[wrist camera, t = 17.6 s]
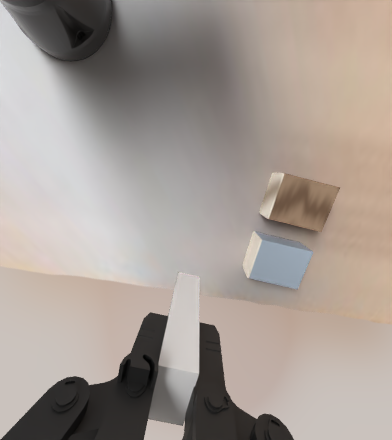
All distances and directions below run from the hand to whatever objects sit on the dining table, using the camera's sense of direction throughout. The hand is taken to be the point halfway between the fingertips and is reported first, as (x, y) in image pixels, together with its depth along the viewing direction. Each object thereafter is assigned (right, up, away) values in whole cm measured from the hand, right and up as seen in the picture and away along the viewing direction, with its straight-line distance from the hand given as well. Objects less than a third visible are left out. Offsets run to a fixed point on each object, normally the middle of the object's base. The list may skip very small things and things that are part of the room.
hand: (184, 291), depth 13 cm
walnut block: (+14, +10, +22) cm, 28 cm away
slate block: (+12, -2, +25) cm, 28 cm away
